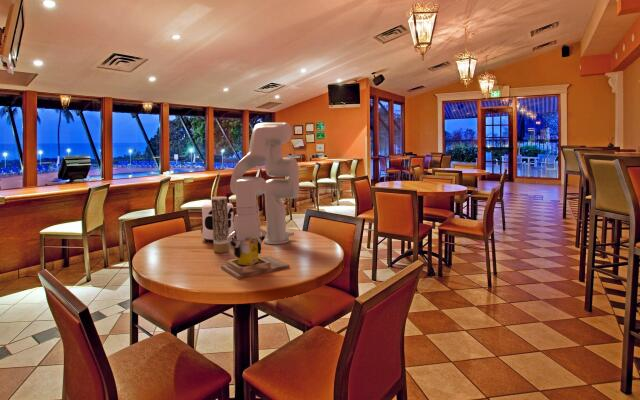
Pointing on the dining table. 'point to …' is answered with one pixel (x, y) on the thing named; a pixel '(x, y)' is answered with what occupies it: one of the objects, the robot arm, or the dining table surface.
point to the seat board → (254, 267)
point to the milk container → (208, 221)
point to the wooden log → (220, 224)
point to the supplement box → (248, 252)
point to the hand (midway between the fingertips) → (248, 254)
